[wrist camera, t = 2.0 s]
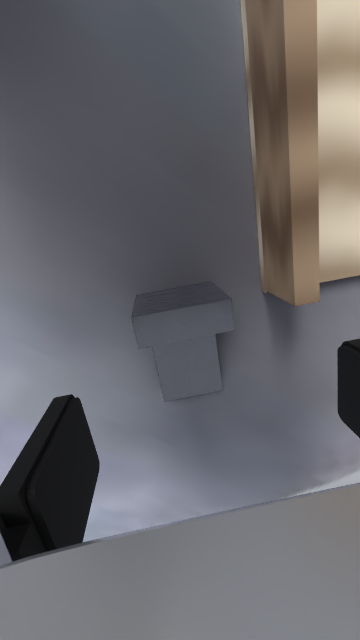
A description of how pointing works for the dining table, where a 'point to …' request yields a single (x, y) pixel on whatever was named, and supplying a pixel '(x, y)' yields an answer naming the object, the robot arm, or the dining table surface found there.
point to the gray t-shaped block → (184, 336)
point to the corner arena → (304, 141)
